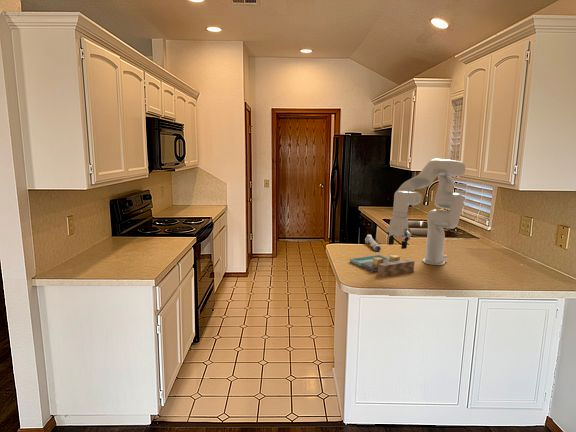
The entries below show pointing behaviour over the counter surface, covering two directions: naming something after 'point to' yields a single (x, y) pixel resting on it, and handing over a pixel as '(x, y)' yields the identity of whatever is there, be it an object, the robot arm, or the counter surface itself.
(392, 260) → the brass block
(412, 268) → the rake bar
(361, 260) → the teal tray
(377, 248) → the white long cylinder
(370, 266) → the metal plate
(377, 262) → the brass block
